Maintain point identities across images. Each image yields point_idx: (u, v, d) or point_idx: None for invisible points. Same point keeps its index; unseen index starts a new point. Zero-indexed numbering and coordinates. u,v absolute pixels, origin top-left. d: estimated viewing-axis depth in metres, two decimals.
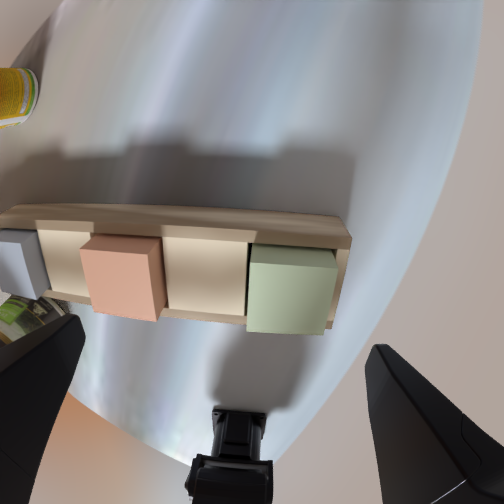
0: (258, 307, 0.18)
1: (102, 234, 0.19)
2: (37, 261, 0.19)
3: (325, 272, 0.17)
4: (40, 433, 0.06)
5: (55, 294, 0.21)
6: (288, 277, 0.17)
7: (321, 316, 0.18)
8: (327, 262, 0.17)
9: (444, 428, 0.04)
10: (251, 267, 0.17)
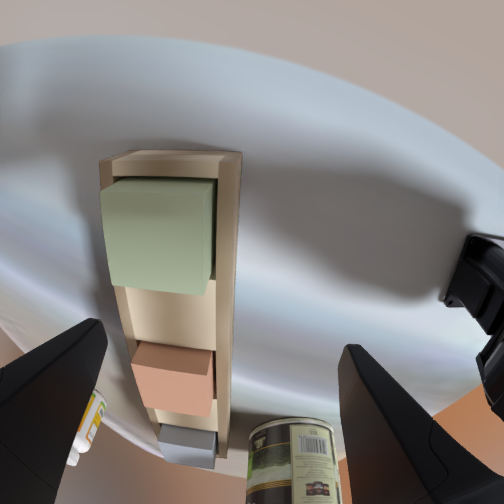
0: (163, 280, 0.14)
1: None
2: (184, 433, 0.23)
3: (106, 206, 0.13)
4: (63, 443, 0.06)
5: (221, 430, 0.24)
6: (118, 247, 0.14)
7: (168, 202, 0.12)
8: None
9: (410, 435, 0.04)
10: (116, 284, 0.14)
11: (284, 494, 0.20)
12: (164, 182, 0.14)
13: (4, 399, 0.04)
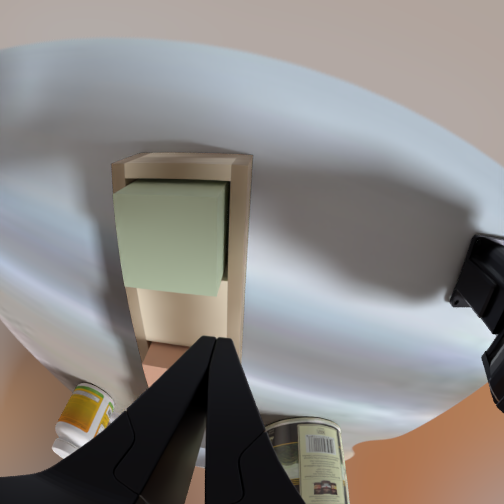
0: (176, 282, 0.15)
1: None
2: None
3: (119, 209, 0.13)
4: (187, 480, 0.05)
5: None
6: (131, 249, 0.14)
7: (182, 205, 0.13)
8: None
9: (229, 441, 0.05)
10: (129, 285, 0.15)
11: None
12: (177, 185, 0.14)
13: (146, 453, 0.04)
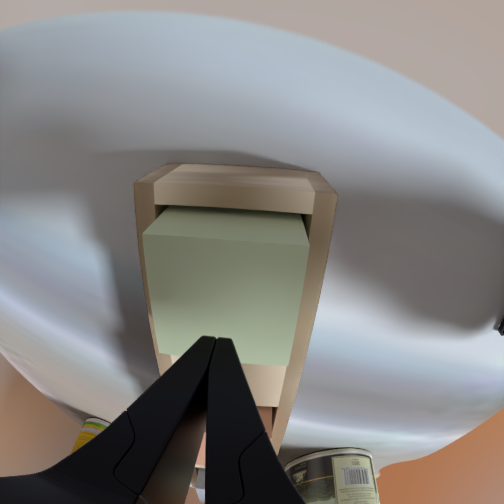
0: None
1: None
2: None
3: (153, 255, 0.09)
4: (187, 480, 0.05)
5: None
6: (171, 310, 0.10)
7: (254, 254, 0.09)
8: None
9: (229, 441, 0.05)
10: (166, 352, 0.11)
11: None
12: (235, 217, 0.10)
13: (147, 454, 0.04)
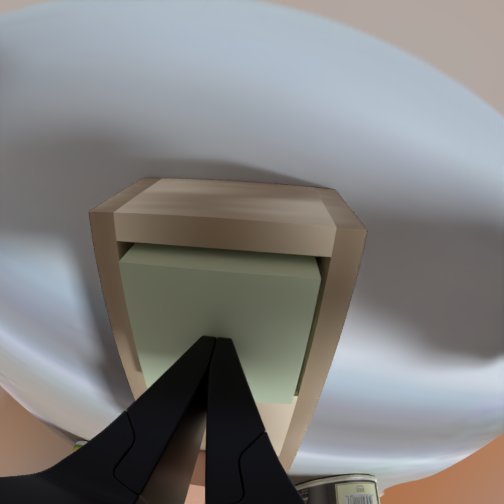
0: None
1: None
2: None
3: (132, 286, 0.07)
4: (187, 480, 0.05)
5: None
6: (157, 347, 0.08)
7: (253, 288, 0.07)
8: None
9: (229, 441, 0.05)
10: None
11: None
12: None
13: (147, 454, 0.04)
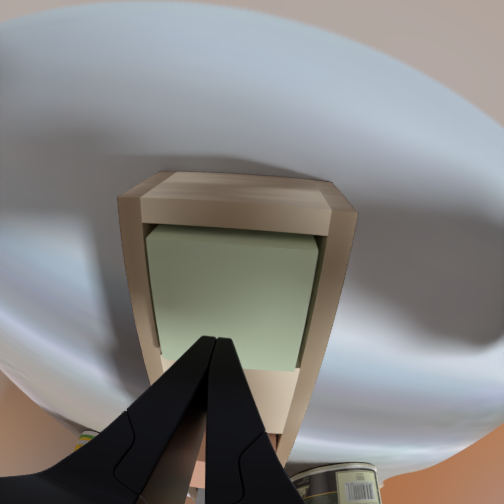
0: (240, 357, 0.10)
1: None
2: None
3: (157, 260, 0.09)
4: (187, 480, 0.05)
5: None
6: (176, 316, 0.10)
7: (262, 259, 0.09)
8: None
9: (229, 441, 0.05)
10: (170, 358, 0.11)
11: None
12: None
13: (147, 453, 0.04)
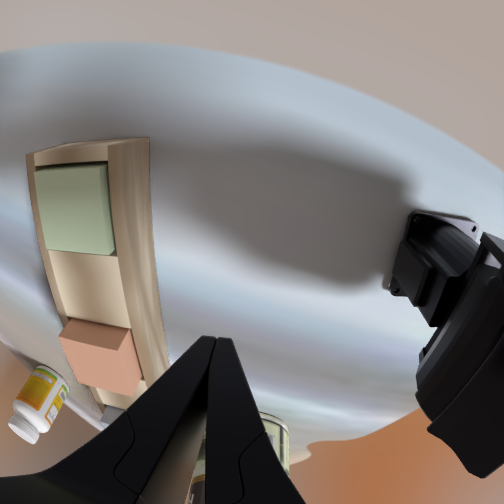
0: (79, 243, 0.15)
1: None
2: None
3: (38, 183, 0.14)
4: (187, 480, 0.05)
5: None
6: (48, 216, 0.15)
7: (76, 176, 0.14)
8: None
9: (229, 441, 0.05)
10: (49, 248, 0.16)
11: None
12: (83, 162, 0.15)
13: (147, 454, 0.04)
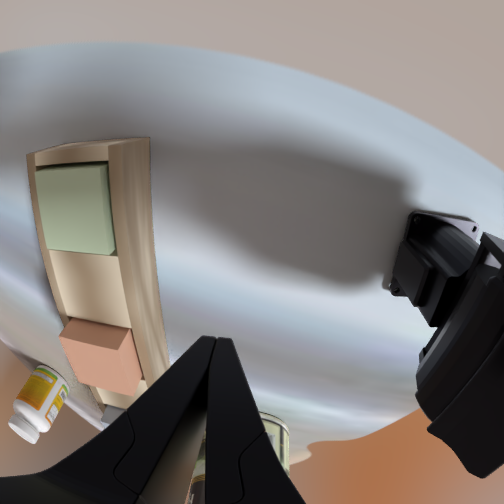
0: (80, 242, 0.16)
1: None
2: None
3: (39, 183, 0.14)
4: (187, 480, 0.05)
5: None
6: (48, 216, 0.15)
7: (77, 176, 0.14)
8: None
9: (229, 441, 0.05)
10: (49, 247, 0.16)
11: None
12: (84, 162, 0.15)
13: (146, 453, 0.04)
